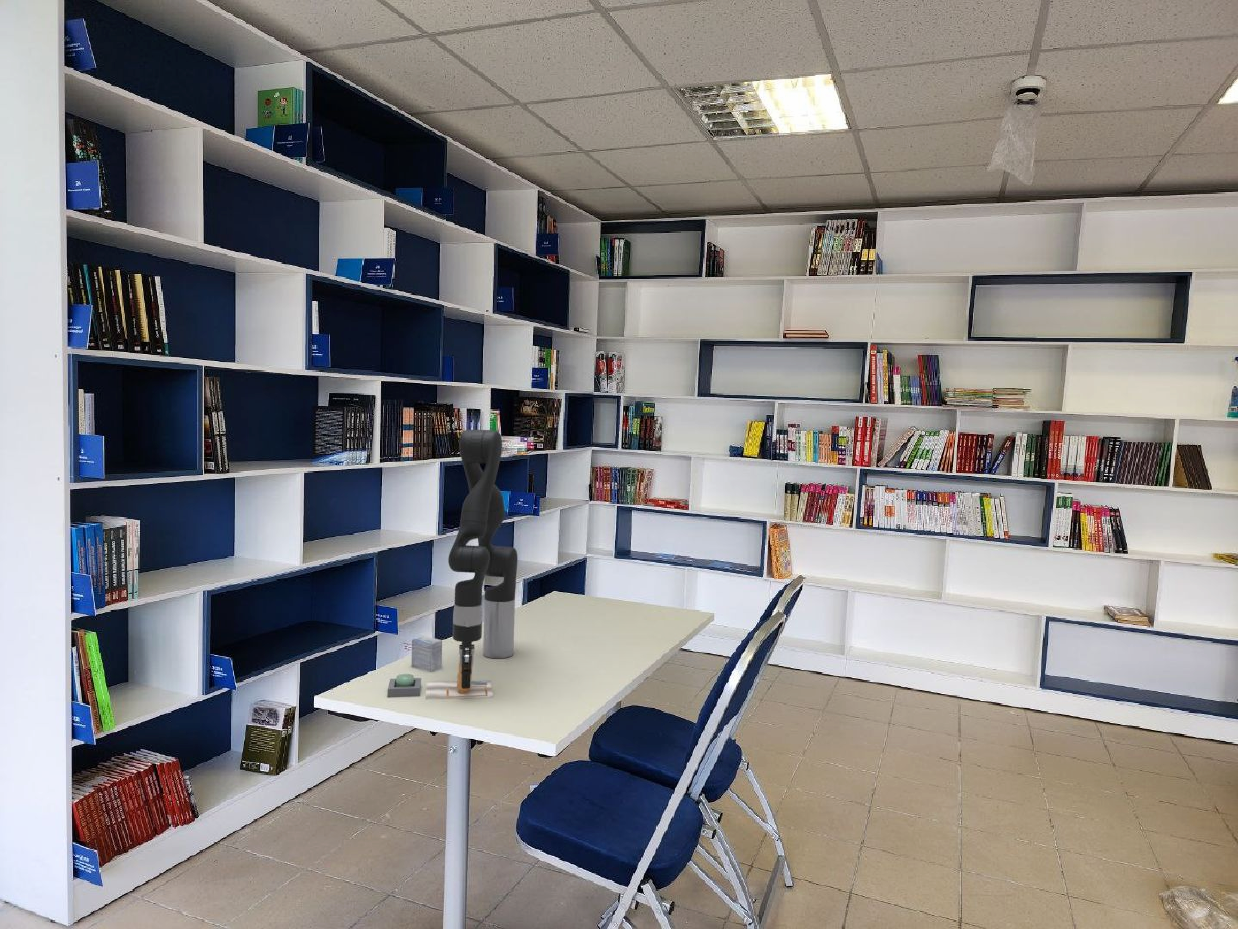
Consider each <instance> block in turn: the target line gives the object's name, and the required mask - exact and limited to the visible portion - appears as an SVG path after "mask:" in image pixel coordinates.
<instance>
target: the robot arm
mask: <svg viewBox="0 0 1238 929" xmlns="http://www.w3.org/2000/svg"><path fill="white" fill-rule="evenodd" d="M502 440H503V439H502V436H501V433H500V432H499V431H498V430H494V429H466V430H463V431H462V432H461V434H460V436H459V441H458V445H459V447H458V448H459V454H460V459H461V462H462V466H463V469H464V470H463V471H464V472H465V473H464V474H465V476H466V480H467V484H468V490H469V493H468V494H467V496H466V498H465V499H464V501H463V504H462V508H461V511H460V512H461V514H460V522H459V528H458V532H457V534H456V537H455V539H454V543H453V545H452V546H451V549H450V551H449V554H448V558H447V560H448V566H449V568H450V569H451V571H453V572H456V573H472V574H474V576H473V578H471V579H466V580H461V581H458V582H457V583H456V584H455V586H454V607H453V612H452V613H453V614H452V639H453V640H454V641H456V642H458V643H459V642H461V644H459V645H458V653H459V657H460V665H461V666H462V671H461V673H462V688H463V689H469V688H470V675H471V673H472V674H473V670H472V671H471V666H472V665H474V660H473V658H474V654H475V650H476V648H475V643H474V644H473V642H478V641H480V640H481V639H482V638H483V643H482V644H483V646H482V647H483V648H482V651H483V652H482V655H483V656H484V657H485V658H491V659H505V658H509V657H512V656H513V655H514V645H515V613H516V612H515V611H516V608H515V606H516V588H517V572H518V561H519V560H518V559H519V558H518V552H517V549H516V548H515V547H512V546H511V547H510V546H501V545H500V546H499V545H498V546H497V545H493V544H492V539H493V537H494V535H495V534H496V533H497V531H498V530H499V528H500V527H501V525H502V524H503V522H504V520H505V518H506V509H505V502H504V496H503V494H502V492H501V490H500V489H499V488H498V486H497V485H496V484H495V483H496V480H497V479H496V478H497V474H498V470H499V467H500V463H501V462H500V461H501V457H502V451H503V441H502ZM480 464H485V466H484V470H483V469H482V467H481V465H480ZM476 539H477V544H478V545H469V544H468V543H469V542H470V541H472V540H476ZM486 576H487V577H497V578H503V581H502V582H501V583H499V584H497V585H493V586H490V587H488V588H486V589H485V590H484V603H482V602H483V586H484V580H485V577H486ZM482 604H484V607H483V606H482ZM483 608H484V609H483ZM482 631H483V632H482ZM482 635H483V636H482ZM464 668H469V669H466V670H464Z"/></svg>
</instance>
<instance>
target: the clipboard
mask: <svg viewBox="0 0 1238 929" xmlns="http://www.w3.org/2000/svg"><path fill="white" fill-rule="evenodd" d="M491 681H492V680H491V679H482V680H480V679H479V680H477V679H476V680H471V688H470V689H469V690H468V693H460V692H458V689H457V680H449V681H427V682H426V690H425V700H444V699H445V700H447V699H448V700H449V699H450V700H451V699H474V698H493V695H494V694H493V690H492V689H493V688H492V683H491Z"/></svg>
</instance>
